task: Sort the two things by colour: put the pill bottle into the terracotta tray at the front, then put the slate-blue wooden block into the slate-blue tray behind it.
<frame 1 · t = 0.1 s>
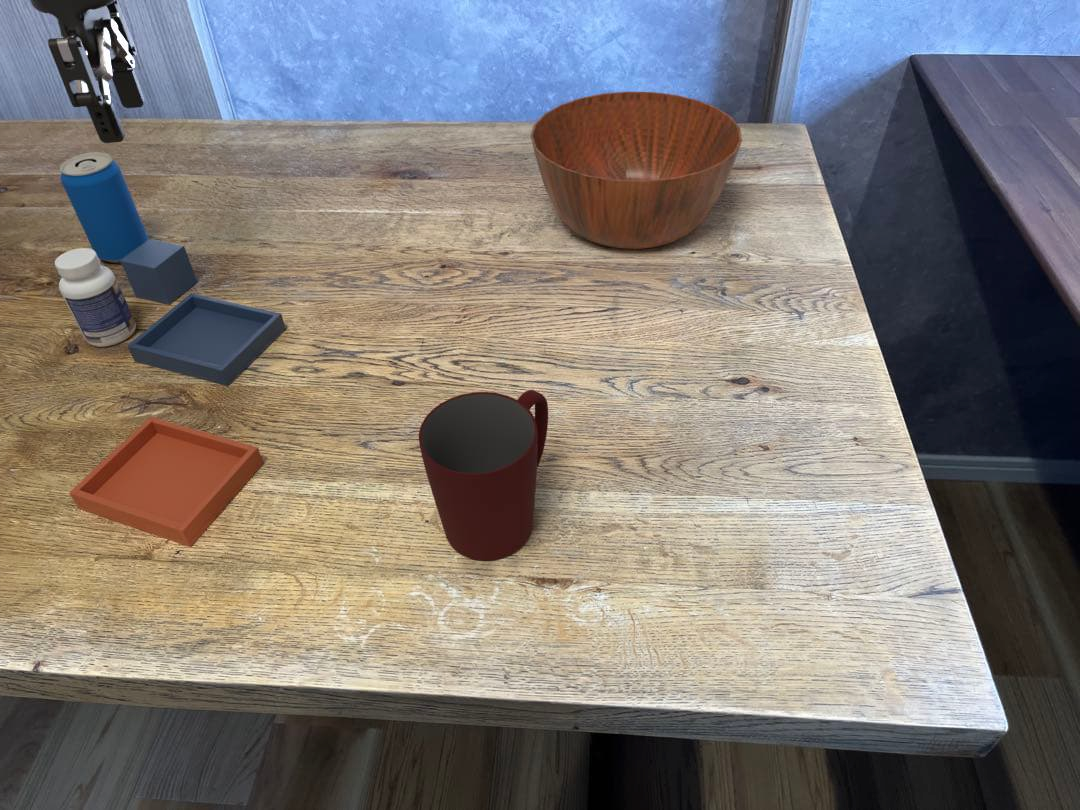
hand: (124, 123, 84), 20 cm above the table, tool pointing down, fingers open, 8 cm apart
mug: (501, 515, 69), on the table
beverage can: (125, 253, 103), on the table
blue tray: (211, 344, 88), on the table
pill bottle: (112, 334, 90), on the table
bowl: (631, 219, 105), on the table
terracotta tray: (173, 485, 73), on the table
blue block: (167, 289, 96), on the table
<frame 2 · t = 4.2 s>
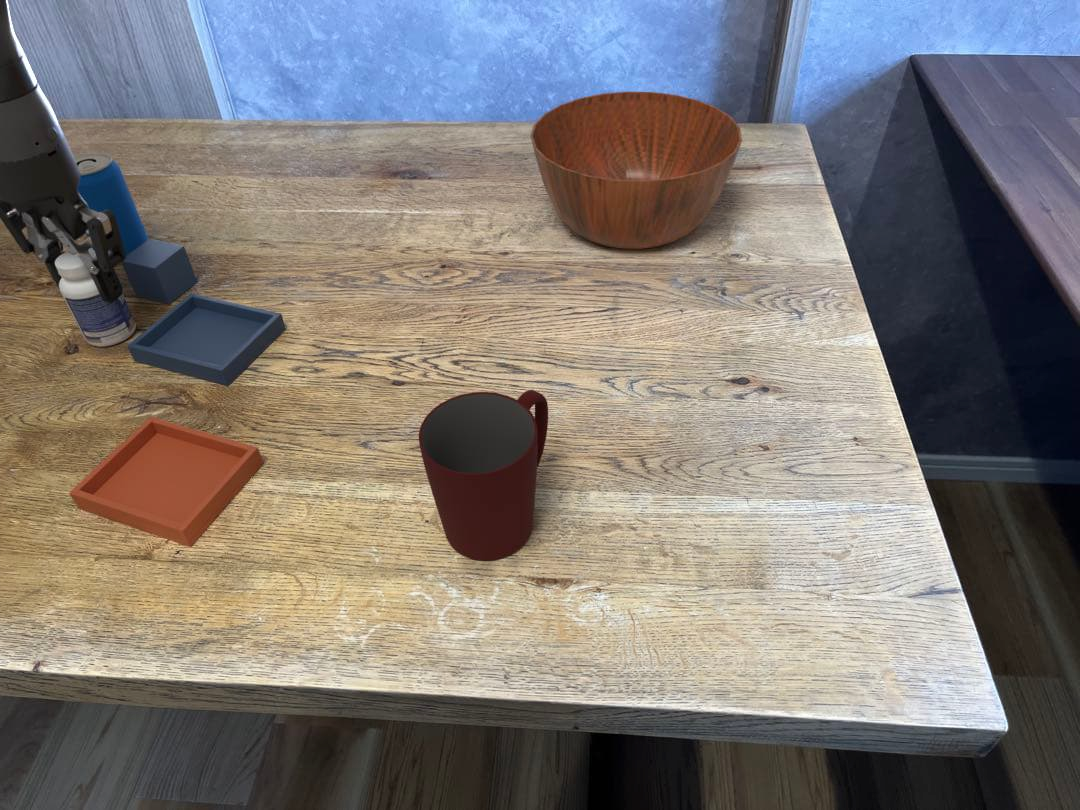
hand: (92, 292, 87), 5 cm above the table, tool pointing down, fingers closed on pill bottle, 5 cm apart
pill bottle: (112, 334, 90), on the table, touching gripper
everything else where it was.
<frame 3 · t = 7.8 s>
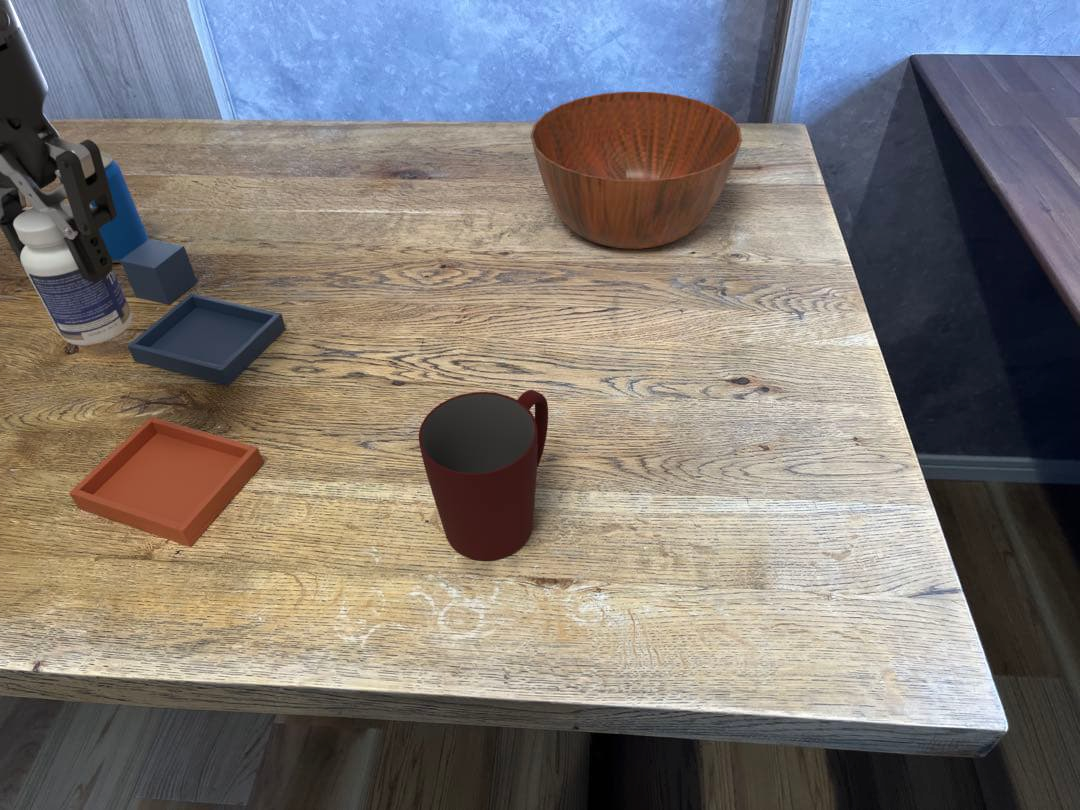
hand: (68, 267, 60), 21 cm above the table, tool pointing down, fingers closed on pill bottle, 5 cm apart
pill bottle: (99, 328, 64), point 16 cm above the table, touching gripper
everything else where it was.
when the fingers open (6 cm above the table, at t = 11.8 s): pill bottle stays where it is, resting on terracotta tray.
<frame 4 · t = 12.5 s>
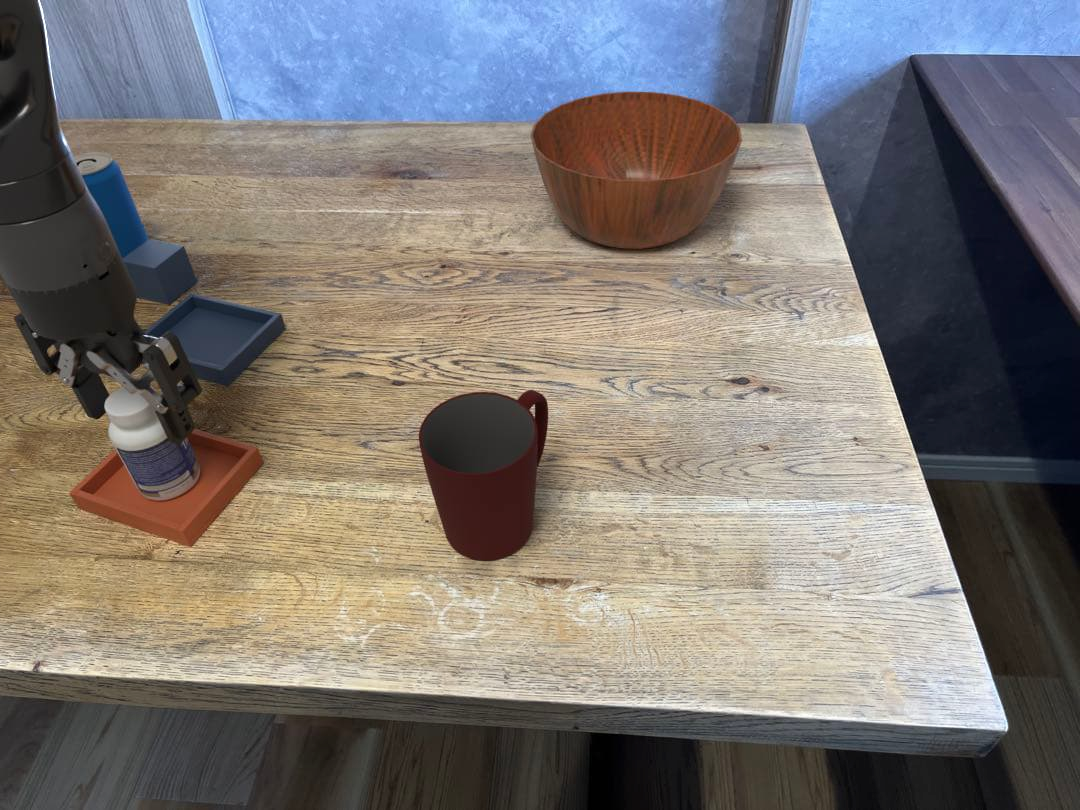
hand: (142, 424, 68), 8 cm above the table, tool pointing down, fingers open, 8 cm apart
pill bottle: (171, 481, 73), resting on terracotta tray
everything else where it was.
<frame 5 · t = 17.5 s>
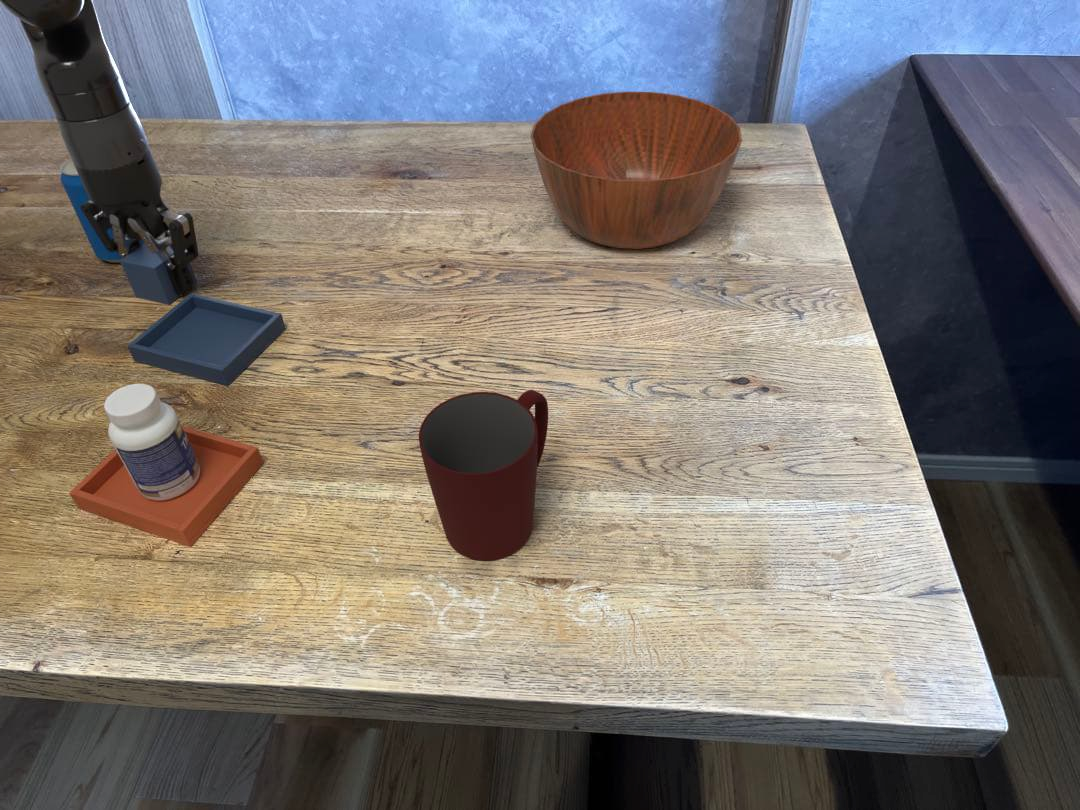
hand: (166, 286, 96), 0 cm above the table, tool pointing down, fingers closed on blue block, 5 cm apart
blue block: (167, 289, 96), on the table, touching gripper
everything else where it was.
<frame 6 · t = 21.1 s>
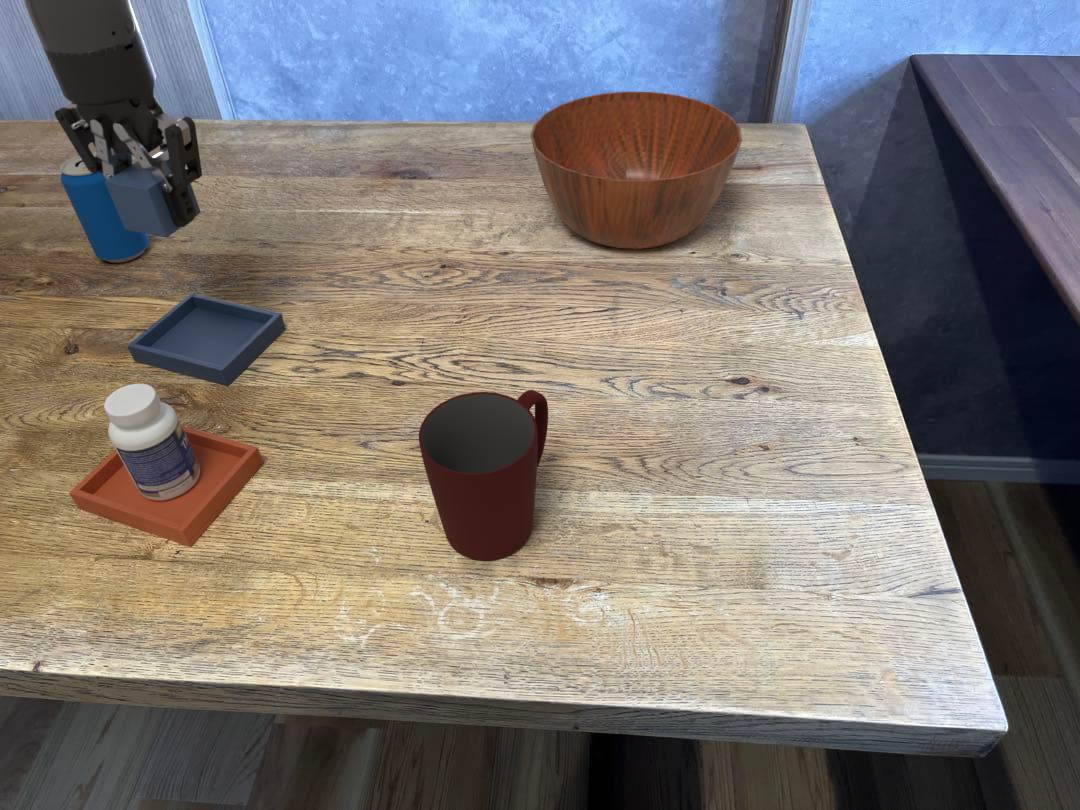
hand: (162, 217, 78), 15 cm above the table, tool pointing down, fingers closed on blue block, 5 cm apart
blue block: (163, 221, 78), point 15 cm above the table, touching gripper
everything else where it was.
when the fingers open (1 cm above the table, at t = 24.6 s): blue block stays where it is, resting on blue tray.
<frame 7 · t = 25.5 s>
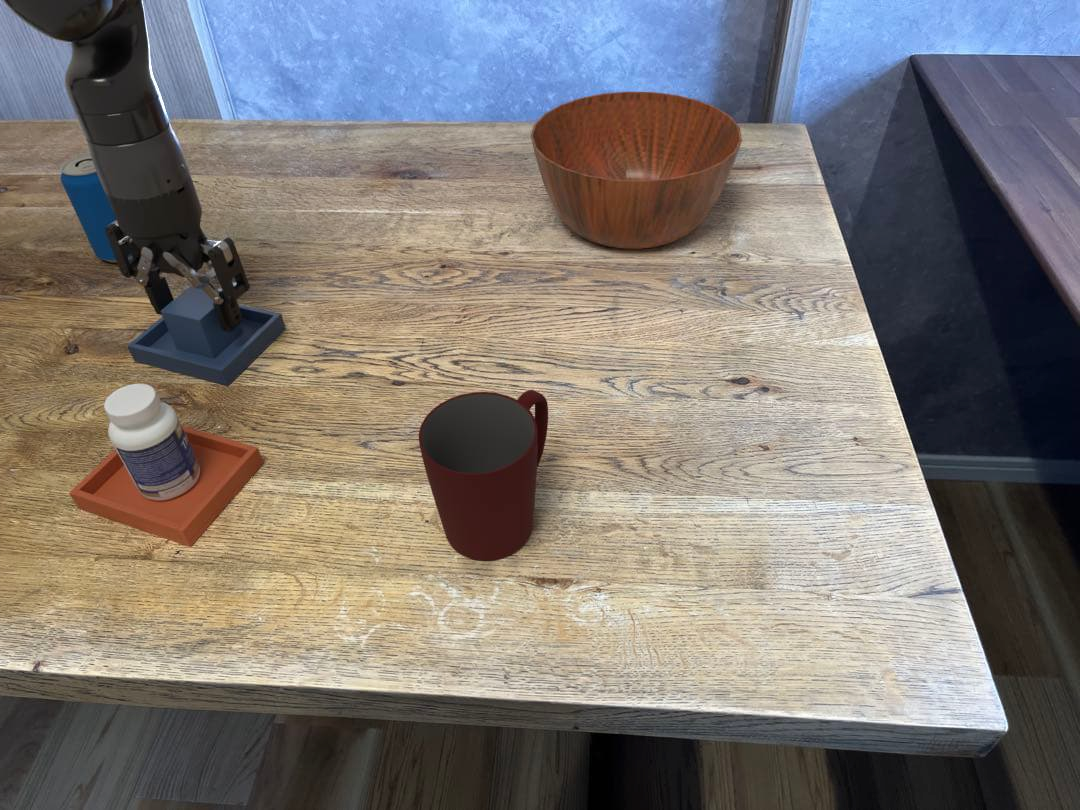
hand: (199, 319, 86), 3 cm above the table, tool pointing down, fingers open, 8 cm apart
blue block: (210, 340, 88), point 1 cm above the table, touching blue tray
everything else where it was.
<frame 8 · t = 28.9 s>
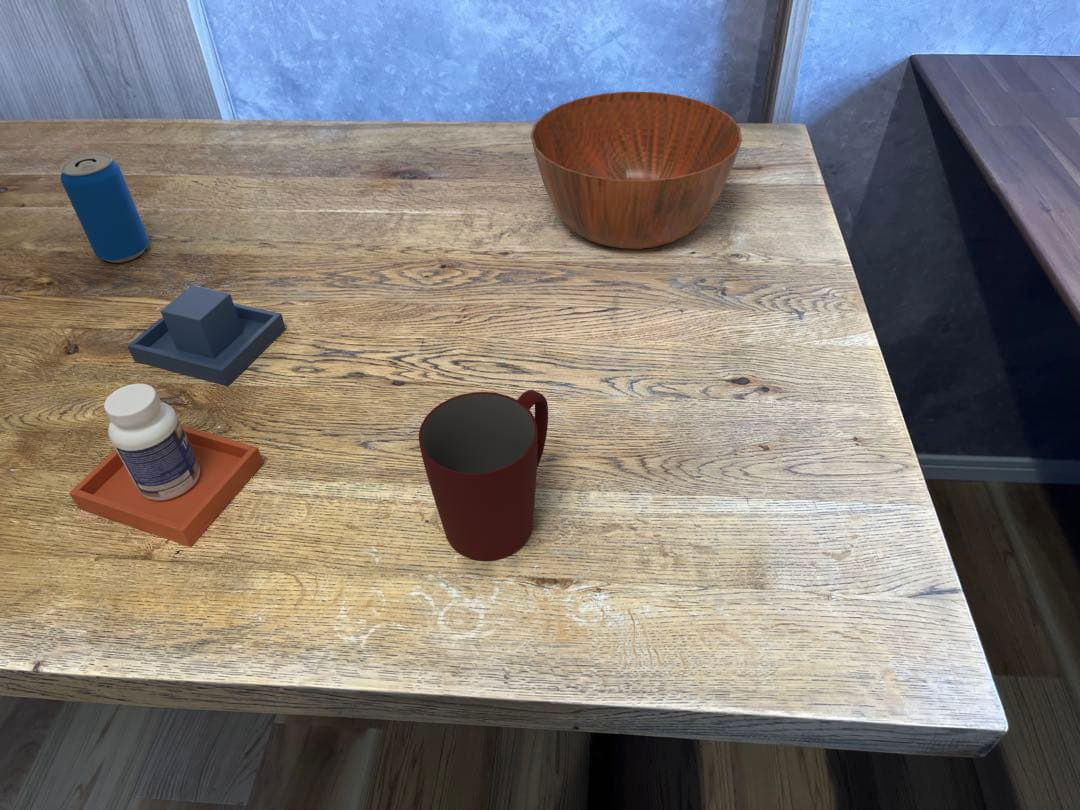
nothing on the table moved.
at the end: pill bottle inside the target area in the terracotta tray (0.1 cm from its centre), point 0.4 cm above the terracotta tray's base; pill bottle tilted 0°; blue block inside the target area in the blue tray (0.0 cm from its centre), point 0.6 cm above the blue tray's base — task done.
